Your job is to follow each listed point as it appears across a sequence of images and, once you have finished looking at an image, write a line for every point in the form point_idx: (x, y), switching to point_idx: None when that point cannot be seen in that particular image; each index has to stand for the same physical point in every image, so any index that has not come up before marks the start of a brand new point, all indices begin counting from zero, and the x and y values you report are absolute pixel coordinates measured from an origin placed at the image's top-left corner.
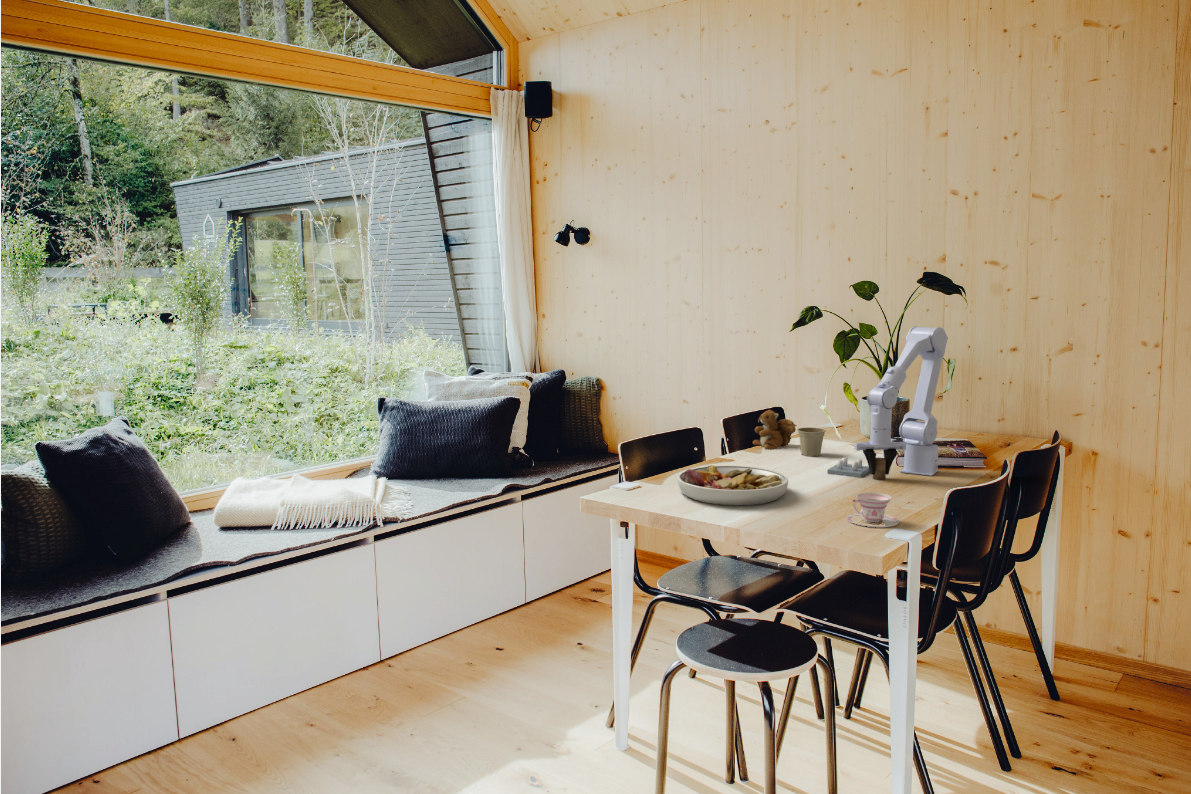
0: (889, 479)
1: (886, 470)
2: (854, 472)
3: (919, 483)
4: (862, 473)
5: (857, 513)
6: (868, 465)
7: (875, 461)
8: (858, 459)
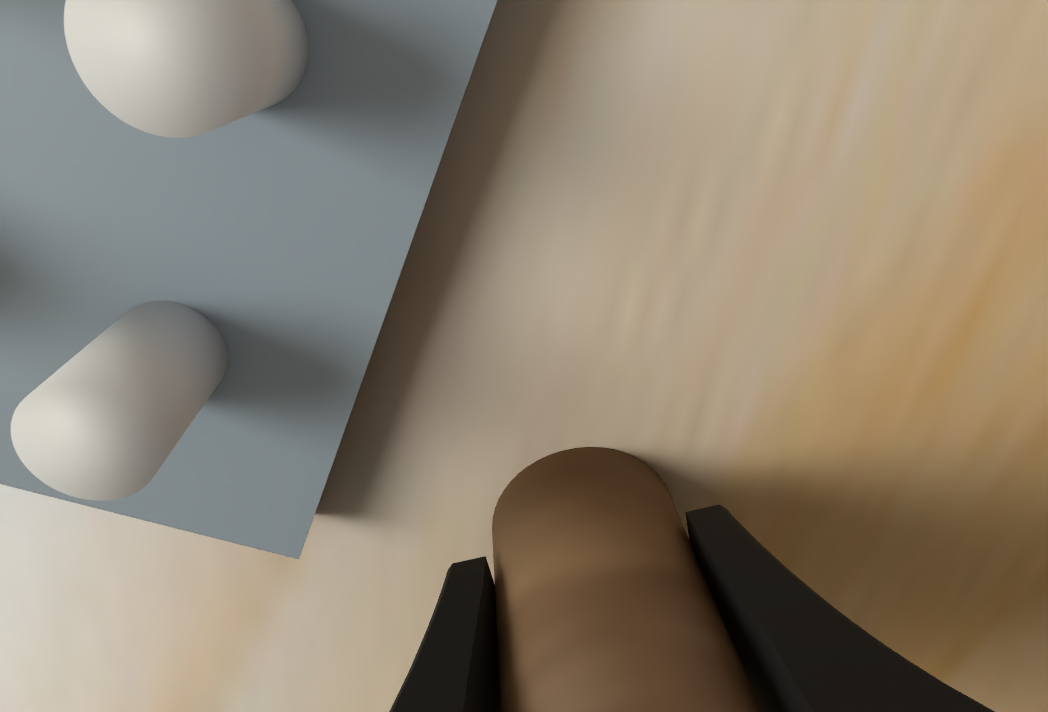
0: None
1: None
2: (188, 507)
3: (1021, 648)
4: (333, 461)
5: None
6: (414, 663)
7: None
8: (121, 20)
